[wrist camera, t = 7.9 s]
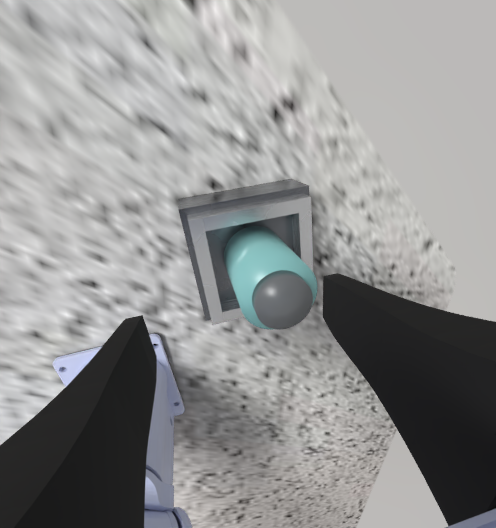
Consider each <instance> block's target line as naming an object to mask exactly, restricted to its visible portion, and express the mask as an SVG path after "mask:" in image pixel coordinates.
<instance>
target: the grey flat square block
mask: <svg viewBox="0 0 496 528" xmlns="http://www.w3.org/2000/svg"><path fill="white" fill-rule="evenodd" d="M179 213H180V217H181V221H182V225H183V229H184V233H185V237H186V241H187V245H188V249H189V254H190V258H191V262H192V266H193V270H194V274H195V278H196V282H197V286H198V290H199V294H200V298H201V302H202V306H203V310H204V314H205V318H206V320H210V319H211V321H212V325H214V324H218V323H222V322H226V321H230V320H234V319H238V318H242V317H245V316H244V315H243V313H242V311H241V308H240V305H239V303H238V300H237V297H236V294H235V292H234V289H233V286H232V283H231V280H230V278H229V275H228V272H227V269H226V267H225V264H224V251H225V247H226V245H227V243H228V241H229V240H230V239H231V237H232V236H233V235H234V234H236V233H237V232H238V231H240V230H242V229H244V228H247V227H251V226H261V227H265V228H268V229H270V230H272V231H273V232H274V233H275V234H276V235H277V236H278V237H279V238H280V239H281V240H282V241H283V242H284V243H285V244H286V245H287V246H288V247H289V248H290V249H291V250H292V251H293V252H294V253H295V254H296V255H297V256H298V257H299V258H300V259H301V260H302V261H303V262H304V263H305V264H306V265H307V266H308V267H309V268H310V269H311V270H312V272H313V244H312V210H311V197H310V196H309V186H308V185H306V184H303V183H301V182H298V181H295V180H293V179H288V180H283V181H277V182H271V183H266V184H260V185H255V186H249V187H243V188H238V189H232V190H227V191H221V192H215V193H210V194H204V195H199V196H193V197H187V198H182V199H179Z"/></svg>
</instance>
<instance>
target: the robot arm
mask: <svg viewBox="0 0 496 528" xmlns="http://www.w3.org/2000/svg"><path fill="white" fill-rule="evenodd" d="M323 318H324V320H325V322H326V323H327V325H328V327H329V329H330V331H331V332H332V334H333V336H334V337H335V339H336V340H337V342H338V343H339V344H340V346H341V347H342V348H343V350H344V351H345V352H346V354H347V355H348V356H349V358H350V359H351V360H352V362H353V363H354V364H355V366H356V367H357V368H358V369H359V371H360V372H361V373H362V375H363V376H364V377H365V379H366V380H367V381H368V383H369V384H370V386H371V387H372V388H373V390H374V391H375V393H376V394H377V396H378V398H379V399H380V401H381V403H382V404H383V406H384V407H385V409H386V411H387V412H388V414H389V416H390V417H391V419H392V421H393V422H394V424H395V426H396V428H397V429H398V431H399V433H400V435H401V436H402V438H403V440H404V441H405V443H406V445H407V447H408V449H409V450H410V452H411V454H412V456H413V457H414V459H415V461H416V463H417V465H418V467H419V469H420V471H421V472H422V474H423V476H424V478H425V480H426V482H427V484H428V486H429V488H430V490H431V492H432V494H433V496H434V497H435V500H436V502H437V503H438V505H439V507H440V509H441V511H442V513H443V515H444V517H445V519H446V521H447V523H448V527H446V528H496V322H493V321H487V320H483V319H478V318H473V317H468V316H464V315H459V314H454V313H450V312H447V311H443V310H440V309H436V308H432V307H429V306H425V305H422V304H419V303H416V302H413V301H410V300H407V299H404V298H401V297H398V296H395V295H393V294H390V293H387V292H385V291H382V290H379V289H377V288H374V287H372V286H369V285H367V284H364V283H362V282H360V281H357V280H355V279H352V278H349V277H347V276H344V275H341V274H333V275H328V276H324V280H323ZM153 344H158V345H157V346H154V345H153ZM53 367H54V368H55V370H56V372H57V373H58V375H59V377H60V378H61V380H62V382H63V383H64V385H65V388H64V389H63V390H62V391H61V392H60V393H59V394H58V395H57V396H56V397H55V398H54V399H53V400H52V401H51V402H50V403H49V404H48V405H47V406H46V407H45V408H44V409H42V410H41V411H40V412H39V413H38V414H37V415H36V416H35V417H34V418H33V419H31V420H30V421H29V422H28V423H27V424H25V425H24V426H23V427H22V428H21V429H19V430H18V431H17V432H16V433H15V434H13V435H12V436H11V437H10V438H9V439H8V440H6V441H5V442H4V443H3V444H2V445H0V528H192V524H191V521H190V519H189V517H188V515H187V513H186V512H185V511H184V510H183V509H181V508H179V507H174V486H173V485H172V484H173V458H174V416H177V415H180V414H182V413H184V411H185V407H184V404H183V401H182V398H181V395H180V392H179V390H178V387H177V384H176V381H175V378H174V375H173V372H172V369H171V367H170V364H169V361H168V358H167V355H166V352H165V349H164V347H163V344H162V341H161V338H160V336H159V335H158V334H150V335H149V333H148V330H147V327H146V324H145V322H144V319H143V316H137V317H132V318H128V319H125V320H124V321H123V322H122V323H121V325H120V326H119V327H118V328H117V329H116V331H115V332H114V333H113V334H112V336H111V337H110V338H109V339H108V340H107V342H106V343H105V344H104V345H103V346H101V347H97V348H93V349H89V350H85V351H81V352H76V353H72V354H68V355H64V356H60V357H57V358H56V359H55V360H54V362H53ZM62 367H65V368H62ZM175 402H177V403H175Z"/></svg>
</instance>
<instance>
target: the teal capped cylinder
mask: <svg viewBox="0 0 496 528" xmlns="http://www.w3.org/2000/svg"><path fill="white" fill-rule="evenodd" d="M224 264H225V267H226V269H227V272H228V275H229V278H230V280H231V283H232V286H233V289H234V292H235V294H236V297H237V300H238V303H239V305H240V308H241V311H242V313H243V315H244V316H245V318H246V319H247V320H248V321H249V322H250V323H252V324H253V325H255V326H257V327H260V328H264V329H286V328H289V327H292V326H294V325H296V324H298V323H299V322H301V321H302V320H303V319H304V318H305V317H306V316H307V314H308V313H309V311H310V309H311V307H312V305H313V303H314V301H315V298H316V295H317V281H316V277H315V275H314V273H313V272H312V270H311V269H310V268H309V267H308V266H307V265H306V264H305V263H304V262H303V261H302V260H301V259H300V258H299V257H298V256H297V255H296V254H295V253H294V252H293V251H292V250H291V249H290V248H289V247H288V246H287V245H286V244H285V243H284V242H283V241H282V240H281V239H280V238H279V237H278V236H277V235H276V234H275V233H274V232H273V231H272V230H270V229H268V228H265V227H261V226H251V227H247V228H244V229H242V230H240V231H238V232H237V233H236V234H234V235H233V236H232V237H231V239H230V240H229V241H228V243H227V245H226V247H225V251H224Z"/></svg>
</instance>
